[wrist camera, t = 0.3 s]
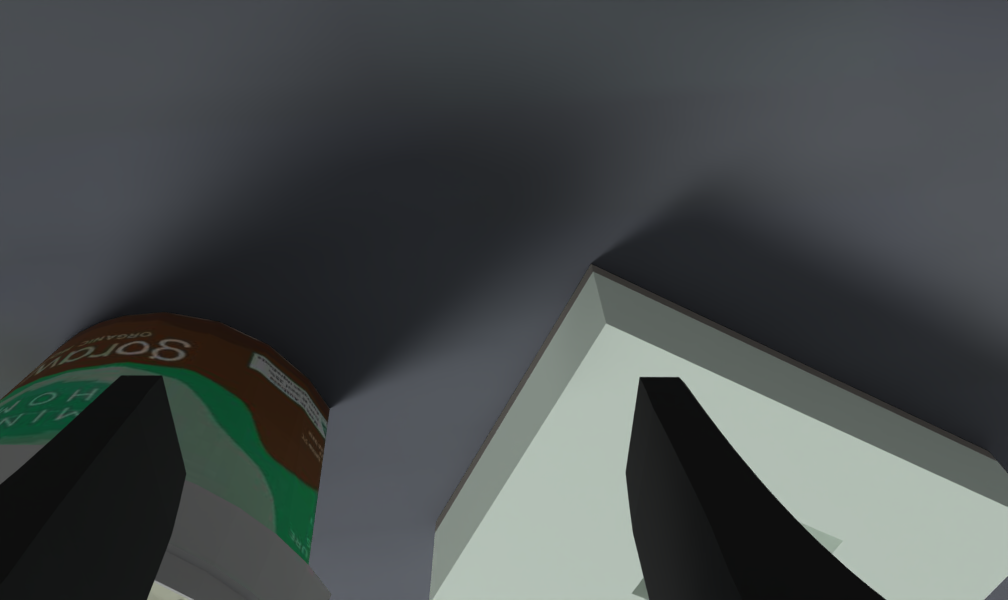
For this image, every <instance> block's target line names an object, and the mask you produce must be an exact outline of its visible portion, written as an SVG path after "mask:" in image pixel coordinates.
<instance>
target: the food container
mask: <svg viewBox="0 0 1008 600" xmlns="http://www.w3.org/2000/svg"><path fill="white" fill-rule="evenodd" d="M121 375H162V376H163V380H164V384H165V388H166V392H167V396H168V401H169V405H170V409H171V413H172V417H173V421H174V425H175V429H176V433H177V437H178V441H179V445H180V449H181V453H182V457H183V461H184V465H185V470H186V478H185V482H184V487H183V491H182V495H181V500H180V504H179V508H178V512H177V516H176V520H175V524H174V528H173V532H172V535H171V538H170V541H169V544H168V546H167V549H166V552H165V554H164V557H163V560H162V562H161V565H160V567H159V570H158V573H157V575H156V578H155V580H154V583H153V586H152V588H151V591H150V593H149V596H148V598H147V600H329V599H330V597H331V593H330V592H329V591H328V589H327V588H326V587H325V586H324V584H323V583H322V582H321V580H320V579H319V578H318V577H317V575H316V574H315V573H314V571H313V570H312V569H311V568H310V566H309V565H308V564H309V556H310V549H311V542H312V534H313V527H314V520H315V513H316V505H317V498H318V491H319V483H320V476H321V469H322V461H323V454H324V447H325V439H326V432H327V425H328V417H329V410H330V409H329V407H328V406H327V404H326V403H325V402H324V400H323V399H322V397H321V396H320V394H319V393H318V391H317V390H316V389H315V387H314V386H313V384H312V383H311V381H310V380H309V379H308V378H307V377H306V376H305V375H304V374H302V373H301V372H300V371H299V370H298V369H296V368H295V367H294V366H293V365H292V364H291V363H289V362H288V361H287V360H286V359H285V358H283V357H282V356H281V355H280V354H279V353H278V352H276V351H275V350H274V349H273V348H272V347H271V346H269V345H268V344H266V343H264V342H261V341H259V340H257V339H255V338H253V337H251V336H249V335H246V334H244V333H242V332H240V331H238V330H236V329H234V328H231V327H229V326H227V325H225V324H223V323H221V322H219V321H213V320H207V319H202V318H196V317H190V316H185V315H179V314H173V313H168V312H160V313H148V314H137V315H125V316H121V317H118V318H114V319H111V320H107V321H104V322H100V323H98V324H96V325H94V326H92V327H90V328H88V329H86V330H84V331H82V332H79V333H78V334H77V335H75V336H74V337H73V338H71V339H70V340H69V341H67V342H66V343H65V344H63V345H62V346H61V347H60V348H58V349H57V350H56V351H55V352H54V353H53V354H52V355H50V356H49V357H48V358H47V359H46V360H45V361H44V362H43V363H41V364H40V365H39V366H38V367H37V368H36V369H35V370H34V371H32V372H31V373H30V374H29V375H28V376H27V377H26V378H24V379H23V380H22V381H21V382H20V383H19V384H18V385H17V386H15V387H14V388H13V389H12V390H11V391H10V392H9V393H8V394H6V395H5V396H4V397H3V398H2V399H1V400H0V484H1V483H2V482H4V481H5V480H6V479H7V478H8V477H10V476H11V475H12V474H13V473H14V472H16V471H17V470H18V469H19V468H20V467H21V466H23V465H24V464H25V463H26V462H27V461H28V460H29V459H30V458H31V457H33V456H34V455H35V454H36V453H37V452H38V451H39V450H40V449H41V448H43V447H44V446H45V445H46V444H47V443H48V442H49V441H50V440H52V439H53V438H54V437H55V436H56V435H57V434H58V433H59V432H60V431H61V430H62V429H63V428H65V427H66V426H67V425H68V424H69V423H70V422H71V421H72V420H73V419H74V418H75V417H76V416H77V415H79V414H80V413H81V412H82V411H83V410H84V409H85V408H86V407H87V406H88V405H89V404H90V403H91V402H93V401H94V400H95V399H96V398H97V397H98V396H99V395H100V394H101V393H102V392H103V391H104V390H105V389H107V388H108V387H109V386H110V385H111V384H112V383H113V382H114V381H115V380H117V379H118V378H119V377H120V376H121Z"/></svg>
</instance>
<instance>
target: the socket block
mask: <svg viewBox="0 0 1008 600" xmlns="http://www.w3.org/2000/svg"><path fill="white" fill-rule="evenodd" d="M639 377H680V378H681V380H682V381H683V382H684V383H685V384H686V385H687V387H688V388H689V389H690V391H691V392H692V394H693V395H694V396H695V398H696V399H697V401H698V402H699V403H700V405H701V406H702V407H703V409H704V410H705V411H706V413H707V414H708V415H709V417H710V418H711V420H712V421H713V422H714V423H715V425H716V426H717V427H718V429H719V430H720V431H721V433H722V434H723V435H724V436H725V438H726V439H727V440H728V442H729V443H730V444H731V445H732V447H733V448H734V449H735V450H736V452H737V453H738V454H739V455H740V456H741V458H742V459H743V460H744V461H745V462H746V464H747V465H748V466H749V467H750V468H751V470H752V471H753V472H754V473H755V474H756V475H757V477H758V478H759V479H760V480H761V481H762V483H763V484H764V485H765V486H766V487H767V488H768V489H769V490H770V492H771V493H772V494H773V495H774V496H775V497H776V498H777V499H778V500H779V501H780V502H781V504H782V505H783V506H784V507H785V508H786V509H787V510H788V511H789V512H790V513H791V514H792V515H793V516H794V517H795V518H796V520H797V521H798V522H799V523H800V524H801V525H802V526H803V527H804V528H805V529H806V530H807V531H808V532H809V533H810V534H811V535H812V536H813V537H814V538H815V539H816V540H817V541H819V542H820V543H821V544H822V545H823V546H824V547H825V548H826V549H827V550H828V551H829V552H830V553H832V554H833V555H834V556H835V557H836V558H837V559H838V560H839V561H840V562H841V563H842V564H844V565H845V566H846V567H847V568H848V569H849V570H850V571H852V572H853V573H854V574H855V575H856V576H858V577H859V578H860V579H861V580H862V581H863V582H865V583H866V584H867V585H868V586H870V587H871V588H872V589H873V590H875V591H876V592H877V593H878V594H880V595H881V596H882V597H884V598H885V599H886V600H984V599H985V598H986V597H987V596H988V595H989V594H990V593H991V592H992V591H993V590H994V589H995V588H996V587H997V586H998V585H999V584H1000V583H1001V582H1002V581H1003V580H1004V579H1005V578H1006V577H1007V576H1008V473H1007V472H1006V471H1005V470H1004V469H1003V467H1002V466H1001V465H1000V464H999V463H998V462H997V460H996V459H995V458H994V457H993V456H992V455H991V453H990V452H989V451H987V450H985V449H982V448H980V447H978V446H976V445H974V444H972V443H970V442H968V441H965V440H963V439H961V438H959V437H957V436H955V435H953V434H951V433H949V432H946V431H944V430H942V429H940V428H938V427H936V426H934V425H932V424H929V423H927V422H925V421H923V420H921V419H919V418H917V417H915V416H912V415H910V414H908V413H906V412H904V411H902V410H900V409H898V408H896V407H893V406H891V405H889V404H887V403H885V402H883V401H881V400H879V399H876V398H874V397H872V396H870V395H868V394H866V393H864V392H862V391H859V390H857V389H855V388H853V387H851V386H849V385H847V384H845V383H843V382H840V381H838V380H836V379H834V378H832V377H830V376H828V375H826V374H823V373H821V372H819V371H817V370H815V369H813V368H811V367H809V366H806V365H804V364H802V363H800V362H798V361H796V360H794V359H792V358H790V357H787V356H785V355H783V354H781V353H779V352H777V351H775V350H773V349H770V348H768V347H766V346H764V345H762V344H760V343H758V342H756V341H753V340H751V339H749V338H747V337H745V336H743V335H741V334H739V333H737V332H734V331H732V330H730V329H728V328H726V327H724V326H722V325H720V324H717V323H715V322H713V321H711V320H709V319H707V318H705V317H703V316H700V315H698V314H696V313H694V312H692V311H690V310H688V309H686V308H683V307H681V306H679V305H677V304H675V303H673V302H671V301H669V300H667V299H664V298H662V297H660V296H658V295H656V294H654V293H652V292H650V291H647V290H645V289H643V288H641V287H639V286H637V285H635V284H633V283H630V282H628V281H626V280H624V279H622V278H620V277H618V276H616V275H614V274H611V273H609V272H607V271H605V270H603V269H601V268H599V267H597V266H594V265H592V264H591V265H590V267H589V268H588V270H587V272H586V273H585V275H584V277H583V278H582V280H581V282H580V283H579V285H578V287H577V288H576V290H575V292H574V293H573V295H572V297H571V298H570V300H569V302H568V303H567V305H566V307H565V308H564V310H563V312H562V313H561V315H560V317H559V318H558V320H557V322H556V323H555V325H554V327H553V328H552V330H551V332H550V333H549V335H548V337H547V338H546V340H545V342H544V343H543V345H542V347H541V348H540V350H539V352H538V353H537V355H536V357H535V358H534V360H533V362H532V363H531V365H530V367H529V368H528V370H527V372H526V373H525V375H524V377H523V378H522V380H521V381H520V383H519V385H518V386H517V388H516V390H515V391H514V393H513V395H512V396H511V398H510V400H509V401H508V403H507V405H506V406H505V408H504V410H503V411H502V413H501V415H500V416H499V418H498V420H497V421H496V423H495V425H494V426H493V428H492V430H491V431H490V433H489V435H488V436H487V438H486V440H485V441H484V443H483V445H482V446H481V448H480V450H479V451H478V453H477V455H476V456H475V458H474V460H473V461H472V463H471V465H470V466H469V468H468V470H467V471H466V473H465V475H464V476H463V478H462V480H461V481H460V483H459V485H458V486H457V488H456V490H455V491H454V493H453V495H452V496H451V498H450V500H449V501H448V503H447V505H446V506H445V508H444V510H443V511H442V513H441V515H440V516H439V518H438V520H437V521H436V528H435V540H434V551H433V563H432V575H431V587H430V599H429V600H649V597H648V593H647V589H646V585H645V581H644V577H643V573H642V569H641V565H640V561H639V557H638V552H637V548H636V544H635V540H634V536H633V531H632V523H631V516H630V508H629V500H628V491H627V483H626V474H625V472H626V465H627V458H628V452H629V445H630V438H631V431H632V424H633V418H634V411H635V404H636V397H637V391H638V384H639Z"/></svg>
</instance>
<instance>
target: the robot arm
mask: <svg viewBox="0 0 1008 600" xmlns="http://www.w3.org/2000/svg"><path fill="white" fill-rule="evenodd" d="M625 474H626V483H627V491H628V500H629V508H630V516H631V523H632V531H633V536H634V540H635V544H636V548H637V552H638V557H639V561H640V565H641V569H642V573H643V577H644V581H645V585H646V589H647V593H648V597H649V600H886V599H885V598H884V597H882V596H881V595H880V594H878V593H877V592H876V591H875V590H873V589H872V588H871V587H870V586H868V585H867V584H866V583H865V582H863V581H862V580H861V579H860V578H859V577H858V576H856V575H855V574H854V573H853V572H852V571H850V570H849V569H848V568H847V567H846V566H845V565H844V564H842V563H841V562H840V561H839V560H838V559H837V558H836V557H835V556H834V555H833V554H832V553H830V552H829V551H828V550H827V549H826V548H825V547H824V546H823V545H822V544H821V543H820V542H819V541H817V540H816V539H815V538H814V537H813V536H812V535H811V534H810V533H809V532H808V531H807V530H806V529H805V528H804V527H803V526H802V525H801V524H800V523H799V522H798V521H797V520H796V518H795V517H794V516H793V515H792V514H791V513H790V512H789V511H788V510H787V509H786V508H785V507H784V506H783V505H782V504H781V502H780V501H779V500H778V499H777V498H776V497H775V496H774V495H773V494H772V493H771V492H770V490H769V489H768V488H767V487H766V486H765V485H764V484H763V483H762V481H761V480H760V479H759V478H758V477H757V475H756V474H755V473H754V472H753V471H752V470H751V468H750V467H749V466H748V465H747V464H746V462H745V461H744V460H743V459H742V458H741V456H740V455H739V454H738V453H737V452H736V450H735V449H734V448H733V447H732V445H731V444H730V443H729V442H728V440H727V439H726V438H725V436H724V435H723V434H722V433H721V431H720V430H719V429H718V427H717V426H716V425H715V423H714V422H713V421H712V420H711V418H710V417H709V415H708V414H707V413H706V411H705V410H704V409H703V407H702V406H701V405H700V403H699V402H698V401H697V399H696V398H695V396H694V395H693V394H692V392H691V391H690V389H689V388H688V387H687V385H686V384H685V383H684V382H683V381H682V380H681V378H680V377H639V384H638V391H637V397H636V404H635V411H634V418H633V424H632V431H631V438H630V445H629V452H628V458H627V465H626V472H625ZM185 478H186V470H185V465H184V461H183V457H182V453H181V449H180V445H179V441H178V437H177V433H176V429H175V425H174V421H173V417H172V413H171V409H170V405H169V401H168V396H167V392H166V388H165V384H164V380H163V376H162V375H121V376H120V377H119V378H118V379H117V380H115V381H114V382H113V383H112V384H111V385H110V386H109V387H108V388H107V389H105V390H104V391H103V392H102V393H101V394H100V395H99V396H98V397H97V398H96V399H95V400H94V401H93V402H91V403H90V404H89V405H88V406H87V407H86V408H85V409H84V410H83V411H82V412H81V413H80V414H79V415H77V416H76V417H75V418H74V419H73V420H72V421H71V422H70V423H69V424H68V425H67V426H66V427H65V428H63V429H62V430H61V431H60V432H59V433H58V434H57V435H56V436H55V437H54V438H53V439H52V440H50V441H49V442H48V443H47V444H46V445H45V446H44V447H43V448H41V449H40V450H39V451H38V452H37V453H36V454H35V455H34V456H33V457H31V458H30V459H29V460H28V461H27V462H26V463H25V464H24V465H23V466H21V467H20V468H19V469H18V470H17V471H16V472H14V473H13V474H12V475H11V476H10V477H8V478H7V479H6V480H5V481H4V482H2V483H1V484H0V600H147V598H148V596H149V593H150V591H151V588H152V586H153V583H154V580H155V578H156V575H157V573H158V570H159V567H160V565H161V562H162V560H163V557H164V554H165V552H166V549H167V546H168V544H169V541H170V538H171V535H172V532H173V528H174V524H175V520H176V516H177V512H178V508H179V504H180V500H181V495H182V491H183V487H184V482H185Z"/></svg>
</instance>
